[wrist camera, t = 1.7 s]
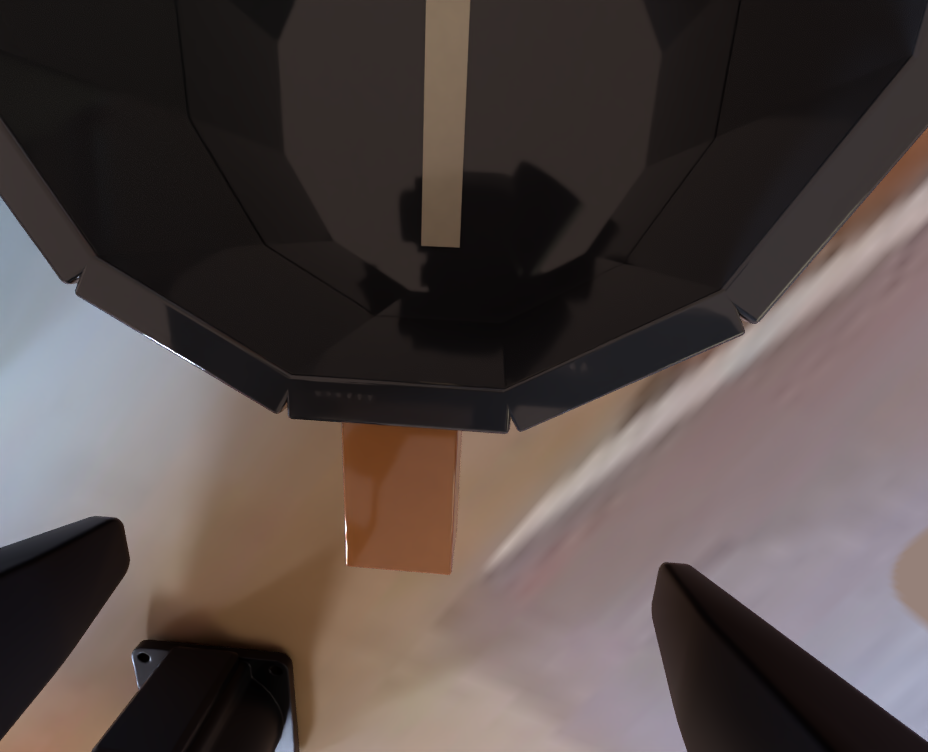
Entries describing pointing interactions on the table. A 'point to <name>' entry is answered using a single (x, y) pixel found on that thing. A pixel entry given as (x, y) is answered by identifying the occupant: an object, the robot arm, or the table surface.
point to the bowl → (444, 198)
